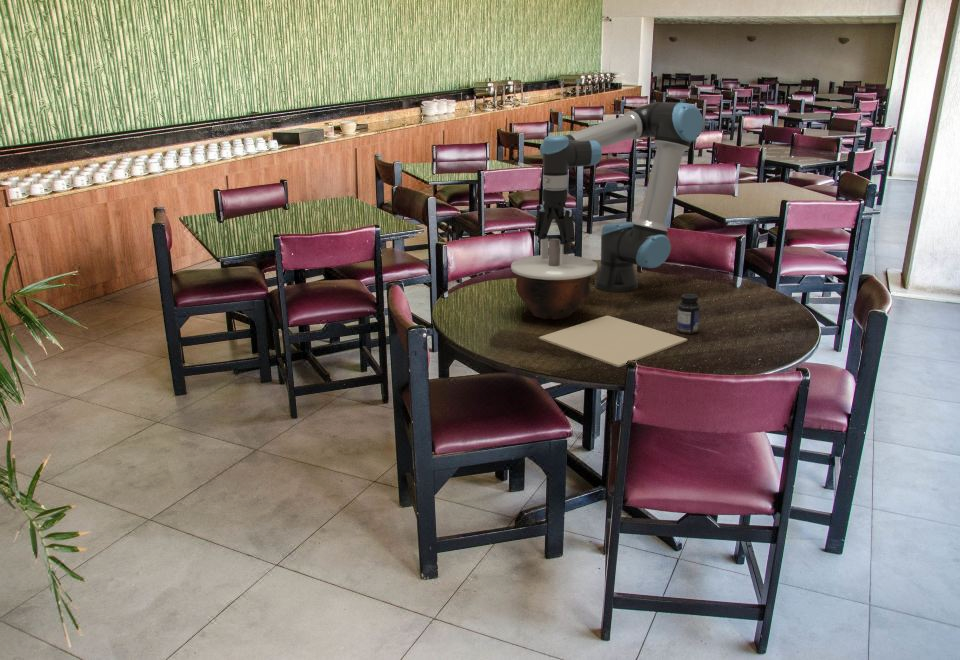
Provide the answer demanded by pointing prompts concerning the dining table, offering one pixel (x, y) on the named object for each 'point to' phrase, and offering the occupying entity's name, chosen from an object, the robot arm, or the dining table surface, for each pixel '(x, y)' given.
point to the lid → (554, 265)
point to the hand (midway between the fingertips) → (553, 261)
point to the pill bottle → (688, 314)
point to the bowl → (553, 295)
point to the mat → (613, 340)
